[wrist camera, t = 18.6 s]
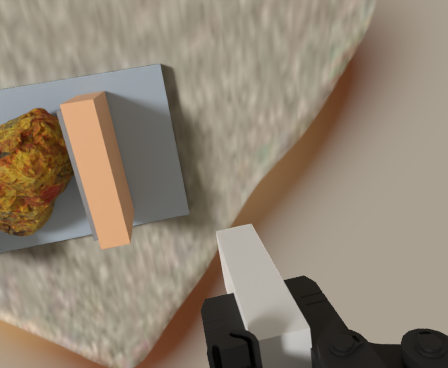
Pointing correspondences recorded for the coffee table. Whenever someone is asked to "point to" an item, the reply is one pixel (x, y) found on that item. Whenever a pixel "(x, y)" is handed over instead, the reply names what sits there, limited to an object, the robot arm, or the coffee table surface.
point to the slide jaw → (98, 167)
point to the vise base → (127, 142)
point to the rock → (31, 171)
